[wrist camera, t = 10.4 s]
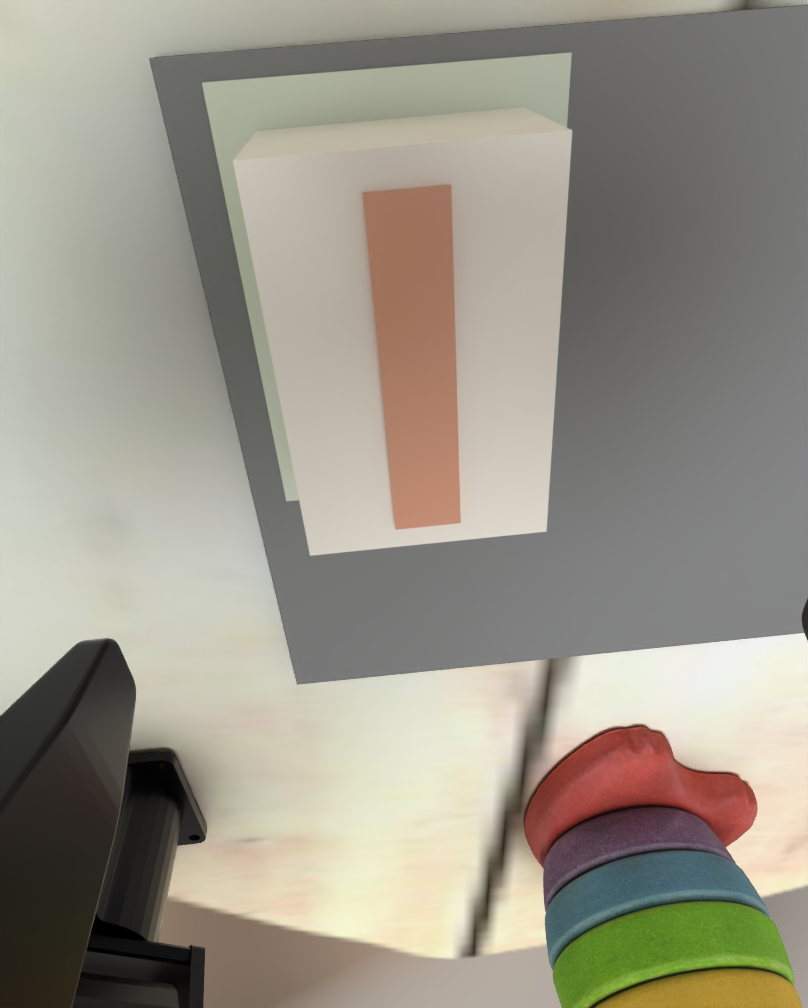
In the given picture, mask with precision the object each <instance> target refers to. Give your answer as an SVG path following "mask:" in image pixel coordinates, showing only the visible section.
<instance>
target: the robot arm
mask: <svg viewBox="0 0 808 1008" xmlns="http://www.w3.org/2000/svg"><path fill="white" fill-rule="evenodd" d="M802 627H803V630H804V633H805V635H806V638H807V640H808V598H807V601H806V603H805V606H804V609H803V612H802ZM135 702H136V686H135V682H134V679H133V676H132V674H131V672H130V670H129V667H128V665H127V663H126V661H125V658H124V656H123V654H122V652H121V649H120V647H119V645H118V644H117V642H116V641H115V640H113V639H109V638H105V639H95V640H85V641H81V642H79V643H77V644H76V645H75V646H73V647H72V648H71V649H70V650H69V651H68V652H67V653H66V654H65V655H64V656H63V657H62V658H61V659H60V660H59V661H58V662H57V663H56V664H54V665H53V666H52V667H51V668H50V669H49V670H48V671H47V672H46V673H45V674H44V675H43V676H42V677H41V678H40V679H39V680H38V681H37V682H36V683H35V684H33V685H32V686H31V687H30V688H29V689H28V690H27V691H26V692H25V693H24V694H23V695H22V696H21V697H20V698H19V699H18V700H17V701H16V702H15V703H13V704H12V705H11V706H10V707H9V708H8V709H7V710H6V711H5V712H4V713H3V714H2V715H1V716H0V1008H203V996H204V995H203V994H204V964H205V947H202V946H195V945H190V946H189V947H183V946H177V945H171V944H164V943H158V941H159V936H160V930H161V926H162V921H163V915H164V911H165V906H166V901H167V896H168V891H169V886H170V881H171V876H172V871H173V866H174V861H175V856H176V850H177V845H187V844H196V843H201V842H203V841H204V840H205V839H206V833H207V828H206V825H205V823H204V821H203V818H202V816H201V814H200V811H199V809H198V807H197V804H196V802H195V800H194V798H193V795H192V793H191V791H190V788H189V786H188V784H187V781H186V779H185V777H184V774H183V772H182V770H181V767H180V765H179V763H178V761H177V758H176V757H175V755H173V754H171V753H169V752H154V753H144V754H135V755H128V754H129V746H130V739H131V731H132V724H133V716H134V709H135Z"/></svg>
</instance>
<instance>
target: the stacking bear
mask: <svg viewBox="0 0 808 1008" xmlns="http://www.w3.org/2000/svg"><path fill="white" fill-rule="evenodd" d="M756 814H757V801H756V798H755V795H754V792H753V790H752V789H751V787H750V786H748V785H747V784H745V783H743V781H742V780H741V779H740V778H738V777H736V776H733V775H727V774H704V773H697V772H693V771H690V770H688V769H686V768H684V767H682V766H681V765H679V764H678V763H677V762H676V761H675V760H674V756H673V752H672V749H671V747H670V744H669V742H668V740H667V739H666V738H665V737H664V736H663V735H661V734H658V733H654V732H651V731H650V730H649V729H648V728H646V727H635V728H628V729H617V730H613V731H610V732H607V733H605V734H602V735H600V736H598V737H596V738H595V739H593V740H592V741H590V742H589V743H587V744H585V745H584V746H583V747H581V748H580V749H578V750H577V751H576V752H574V753H573V754H572V755H571V756H569V757H568V758H567V759H566V760H565V761H563V762H562V763H561V764H560V765H559V766H558V767H557V768H556V769H555V770H554V771H553V772H552V773H551V774H550V775H549V776H548V777H547V778H546V780H545V781H544V782H543V783H542V785H541V786H540V787H539V789H538V790H537V792H536V793H535V795H534V797H533V799H532V801H531V803H530V805H529V807H528V810H527V813H526V817H525V822H524V830H525V835H526V839H527V841H528V844H529V846H530V848H531V850H532V852H533V854H534V856H535V857H536V859H537V860H538V862H539V863H540V864H541V866H542V867H543V868H544V875H543V887H544V904H545V911H546V915H545V930H546V940H547V948H548V955H549V962H550V966H551V968H552V970H553V980H554V984H555V987H556V991H557V994H558V997H559V1000H560V1003H561V1006H562V1008H802V1006H801V1002H800V999H799V997H798V994H797V991H796V990H795V988H794V987H793V986H794V976H793V972H792V969H791V965H790V962H789V959H788V956H787V954H786V950H785V948H784V945H783V942H782V940H781V937H780V934H779V932H778V929H777V927H776V925H775V924H774V922H773V921H772V920H771V919H770V917H769V912H768V910H767V908H766V906H765V904H764V903H763V901H762V900H761V898H760V896H759V895H758V893H757V891H756V890H755V888H754V887H753V885H752V884H751V882H750V881H749V879H748V878H747V876H746V875H745V873H744V872H743V870H742V869H741V868H740V867H739V866H738V865H736V863H735V861H734V860H733V858H732V856H731V855H730V853H729V852H728V851H727V849H726V847H727V846H728V845H730V844H731V843H733V842H734V841H735V840H737V839H738V838H739V837H741V836H742V835H743V834H744V833H745V832H746V831H747V830H749V829H750V827H751V826H752V825H753V822H754V820H755V818H756Z"/></svg>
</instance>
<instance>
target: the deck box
mask: <svg viewBox="0 0 808 1008" xmlns="http://www.w3.org/2000/svg"><path fill="white" fill-rule="evenodd" d="M571 143H572V130H571V129H569V128H567V127H564V126H562V125H560V124H558V123H556V122H554V121H552V120H550V119H548V118H546V117H543V116H541V115H539V114H537V113H535V112H533V111H531V110H529V109H527V108H525V107H517V108H506V109H494V110H483V111H472V112H461V113H450V114H439V115H427V116H416V117H405V118H394V119H383V120H372V121H361V122H349V123H338V124H327V125H316V126H305V127H294V128H282V129H271V130H260V131H256V132H255V133H254V134H253V136H252V137H251V138H250V139H249V141H248V142H247V143H246V145H245V146H244V147H243V148H242V150H241V151H240V152H239V154H238V155H237V156H236V158H235V159H234V160H233V164H234V169H235V175H236V180H237V185H238V190H239V195H240V200H241V205H242V210H243V215H244V221H245V226H246V231H247V236H248V241H249V246H250V251H251V256H252V262H253V267H254V272H255V277H256V282H257V287H258V292H259V297H260V302H261V308H262V313H263V318H264V323H265V328H266V333H267V338H268V343H269V348H270V354H271V359H272V364H273V369H274V374H275V379H276V384H277V389H278V395H279V400H280V405H281V410H282V415H283V420H284V425H285V430H286V435H287V441H288V446H289V451H290V456H291V461H292V466H293V471H294V476H295V481H296V487H297V492H298V497H299V502H300V507H301V512H302V517H303V522H304V528H305V533H306V538H307V543H308V548H309V553H310V556H312V555H322V554H332V553H342V552H352V551H362V550H371V549H381V548H391V547H401V546H411V545H420V544H430V543H440V542H450V541H460V540H469V539H479V538H489V537H499V536H509V535H518V534H528V533H538V532H547V517H548V501H549V486H550V470H551V454H552V439H553V423H554V408H555V392H556V377H557V361H558V345H559V330H560V314H561V299H562V283H563V268H564V252H565V237H566V221H567V205H568V190H569V174H570V159H571Z"/></svg>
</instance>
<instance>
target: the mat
mask: <svg viewBox="0 0 808 1008" xmlns="http://www.w3.org/2000/svg"><path fill="white" fill-rule="evenodd" d="M149 59H150V64H151V68H152V72H153V76H154V81H155V85H156V89H157V93H158V98H159V102H160V106H161V110H162V114H163V119H164V123H165V127H166V131H167V136H168V140H169V144H170V148H171V153H172V157H173V161H174V165H175V170H176V174H177V178H178V182H179V186H180V191H181V195H182V199H183V203H184V208H185V212H186V216H187V220H188V225H189V229H190V233H191V237H192V242H193V246H194V250H195V254H196V259H197V263H198V267H199V271H200V275H201V280H202V284H203V288H204V292H205V297H206V301H207V305H208V309H209V314H210V318H211V322H212V326H213V331H214V335H215V339H216V343H217V347H218V352H219V356H220V360H221V364H222V369H223V373H224V377H225V381H226V386H227V390H228V394H229V398H230V403H231V407H232V411H233V415H234V420H235V424H236V428H237V432H238V436H239V441H240V445H241V449H242V453H243V458H244V462H245V466H246V470H247V475H248V479H249V483H250V487H251V492H252V496H253V500H254V504H255V508H256V513H257V517H258V521H259V525H260V530H261V534H262V538H263V542H264V547H265V551H266V555H267V559H268V564H269V568H270V572H271V576H272V580H273V585H274V589H275V593H276V597H277V602H278V606H279V610H280V614H281V619H282V623H283V627H284V631H285V636H286V640H287V644H288V648H289V653H290V657H291V661H292V665H293V669H294V674H295V678H296V682H297V684H307V683H316V682H326V681H336V680H346V679H356V678H365V677H375V676H385V675H395V674H405V673H414V672H424V671H434V670H444V669H454V668H464V667H473V666H483V665H493V664H503V663H513V662H522V661H532V660H542V659H552V658H562V657H571V656H581V655H591V654H601V653H611V652H621V651H630V650H640V649H650V648H660V647H670V646H679V645H689V644H699V643H709V642H719V641H728V640H738V639H748V638H758V637H768V636H778V635H787V634H797V633H804V630H803V627H802V612H803V609H804V606H805V603H806V601H807V598H808V5H798V6H786V7H773V8H761V9H748V10H736V11H724V12H711V13H699V14H686V15H674V16H662V17H649V18H637V19H624V20H612V21H599V22H587V23H575V24H562V25H550V26H537V27H525V28H513V29H500V30H488V31H475V32H463V33H450V34H438V35H426V36H413V37H401V38H388V39H376V40H364V41H351V42H339V43H326V44H314V45H301V46H289V47H277V48H264V49H252V50H239V51H227V52H215V53H202V54H190V55H177V56H165V57H154V58H149ZM517 107H525V108H527V109H529V110H531V111H533V112H535V113H537V114H539V115H541V116H543V117H546V118H548V119H550V120H552V121H554V122H556V123H558V124H560V125H562V126H564V127H567V128H569V129H571V130H572V143H571V159H570V174H569V190H568V205H567V221H566V237H565V252H564V268H563V283H562V299H561V314H560V330H559V345H558V361H557V377H556V392H555V408H554V423H553V439H552V454H551V470H550V486H549V501H548V517H547V532H538V533H528V534H518V535H509V536H499V537H489V538H479V539H469V540H460V541H450V542H440V543H430V544H420V545H411V546H401V547H391V548H381V549H371V550H362V551H352V552H342V553H332V554H322V555H312V556H310V553H309V548H308V543H307V538H306V533H305V528H304V522H303V517H302V512H301V507H300V502H299V497H298V492H297V487H296V481H295V476H294V471H293V466H292V461H291V456H290V451H289V446H288V441H287V435H286V430H285V425H284V420H283V415H282V410H281V405H280V400H279V395H278V389H277V384H276V379H275V374H274V369H273V364H272V359H271V354H270V348H269V343H268V338H267V333H266V328H265V323H264V318H263V313H262V308H261V302H260V297H259V292H258V287H257V282H256V277H255V272H254V267H253V262H252V256H251V251H250V246H249V241H248V236H247V231H246V226H245V221H244V215H243V210H242V205H241V200H240V195H239V190H238V185H237V180H236V175H235V169H234V164H233V160H234V159H235V158H236V156H237V155H238V154H239V152H240V151H241V150H242V148H243V147H244V146H245V145H246V143H247V142H248V141H249V139H250V138H251V137H252V136H253V134H254V133H255V132H256V131H260V130H271V129H282V128H294V127H305V126H316V125H327V124H338V123H349V122H361V121H372V120H383V119H394V118H405V117H416V116H427V115H439V114H450V113H461V112H472V111H483V110H494V109H506V108H517Z"/></svg>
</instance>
